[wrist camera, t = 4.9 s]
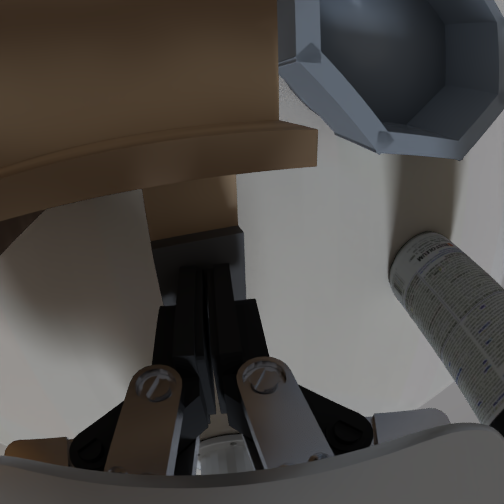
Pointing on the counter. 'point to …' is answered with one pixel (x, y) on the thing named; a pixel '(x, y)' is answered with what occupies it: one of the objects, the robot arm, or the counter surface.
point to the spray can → (456, 318)
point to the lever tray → (146, 117)
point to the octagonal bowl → (397, 70)
